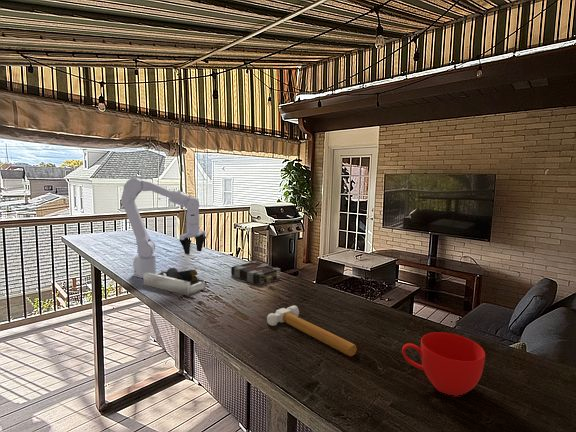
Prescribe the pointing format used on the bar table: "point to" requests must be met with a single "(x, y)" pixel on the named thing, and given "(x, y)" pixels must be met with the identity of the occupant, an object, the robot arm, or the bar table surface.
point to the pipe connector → (182, 274)
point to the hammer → (310, 329)
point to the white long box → (172, 283)
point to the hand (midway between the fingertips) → (193, 252)
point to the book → (255, 272)
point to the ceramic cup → (449, 362)
